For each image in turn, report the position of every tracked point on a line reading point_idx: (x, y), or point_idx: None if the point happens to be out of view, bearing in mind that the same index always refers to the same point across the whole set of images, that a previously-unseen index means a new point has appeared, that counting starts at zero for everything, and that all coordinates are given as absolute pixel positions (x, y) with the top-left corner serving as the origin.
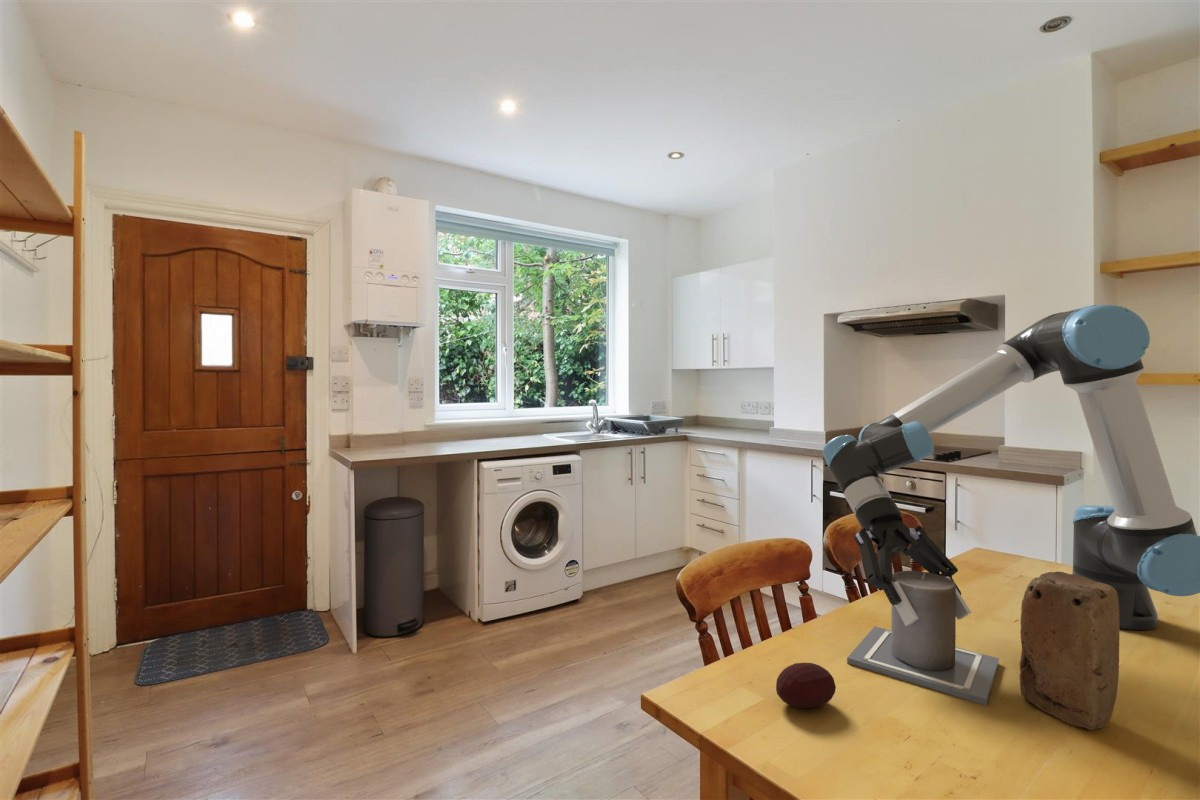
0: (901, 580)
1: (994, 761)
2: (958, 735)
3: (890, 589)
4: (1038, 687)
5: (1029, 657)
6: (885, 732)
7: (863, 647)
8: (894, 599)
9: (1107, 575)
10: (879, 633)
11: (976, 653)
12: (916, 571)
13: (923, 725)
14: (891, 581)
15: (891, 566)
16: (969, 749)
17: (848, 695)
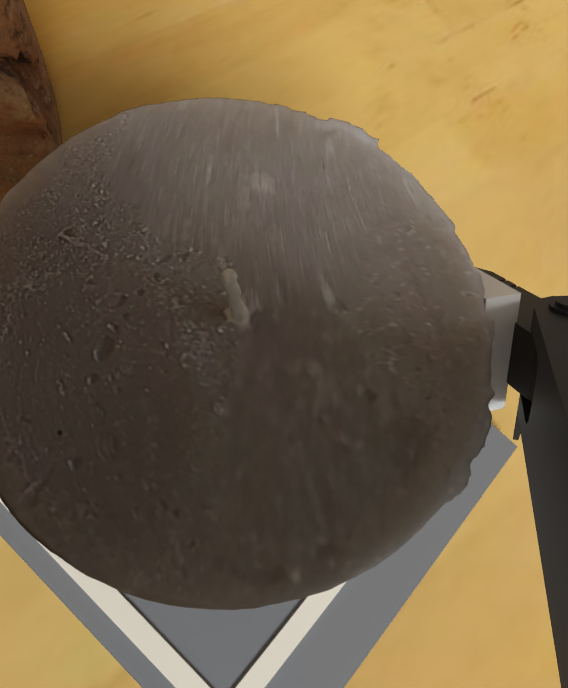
0: (452, 304)
1: (340, 15)
2: (361, 88)
3: (528, 295)
4: (46, 86)
5: (23, 32)
6: (522, 115)
7: (422, 534)
8: (490, 274)
9: None
10: None
11: None
12: (149, 554)
13: (422, 127)
14: (542, 299)
15: (563, 385)
16: (368, 48)
17: (560, 260)
